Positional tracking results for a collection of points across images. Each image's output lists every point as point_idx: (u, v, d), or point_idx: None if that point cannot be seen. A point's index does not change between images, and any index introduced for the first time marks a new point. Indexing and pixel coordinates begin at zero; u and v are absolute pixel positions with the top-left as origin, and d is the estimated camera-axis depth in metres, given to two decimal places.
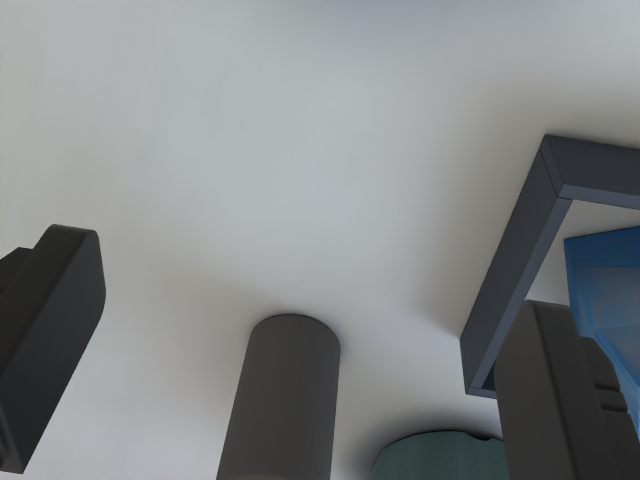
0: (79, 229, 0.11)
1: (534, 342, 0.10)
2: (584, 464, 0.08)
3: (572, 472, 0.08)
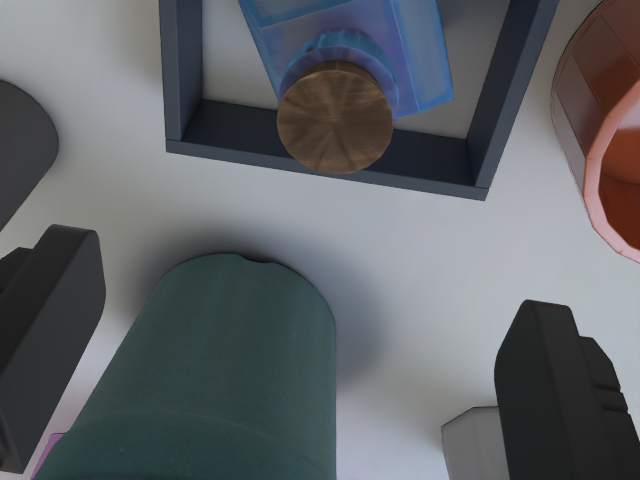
0: (79, 229, 0.11)
1: (534, 342, 0.10)
2: (584, 464, 0.08)
3: (572, 472, 0.08)
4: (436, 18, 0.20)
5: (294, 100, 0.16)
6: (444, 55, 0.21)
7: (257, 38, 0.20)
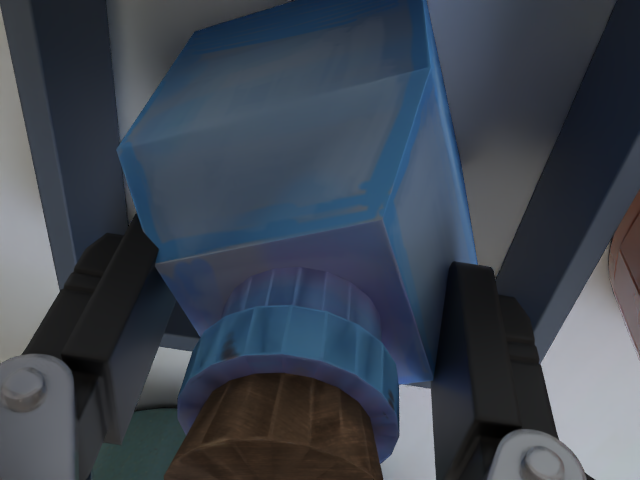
0: None
1: (455, 299, 0.11)
2: (485, 404, 0.09)
3: (473, 411, 0.09)
4: (461, 215, 0.12)
5: (193, 471, 0.08)
6: (472, 263, 0.13)
7: None
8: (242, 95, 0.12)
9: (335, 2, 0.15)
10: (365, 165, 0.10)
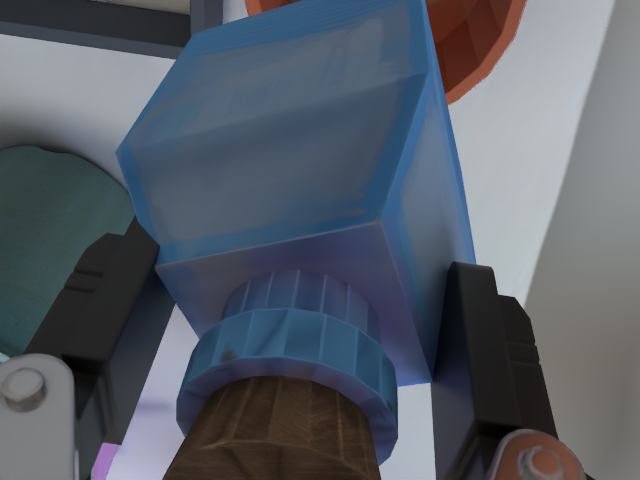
0: None
1: (456, 299, 0.11)
2: (485, 404, 0.09)
3: (473, 411, 0.09)
4: (460, 217, 0.12)
5: (192, 473, 0.08)
6: None
7: None
8: (241, 97, 0.12)
9: (334, 4, 0.15)
10: (364, 168, 0.10)
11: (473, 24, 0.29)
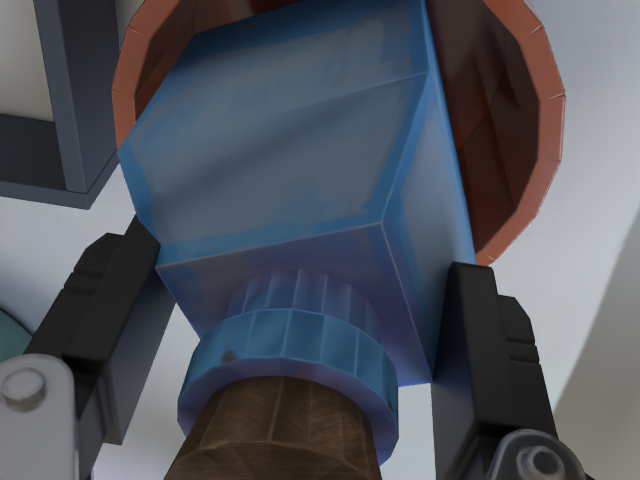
0: None
1: (456, 299, 0.11)
2: (485, 404, 0.09)
3: (473, 411, 0.09)
4: (460, 218, 0.12)
5: (193, 473, 0.08)
6: None
7: None
8: (242, 98, 0.12)
9: (335, 5, 0.15)
10: (364, 168, 0.10)
11: (472, 163, 0.20)
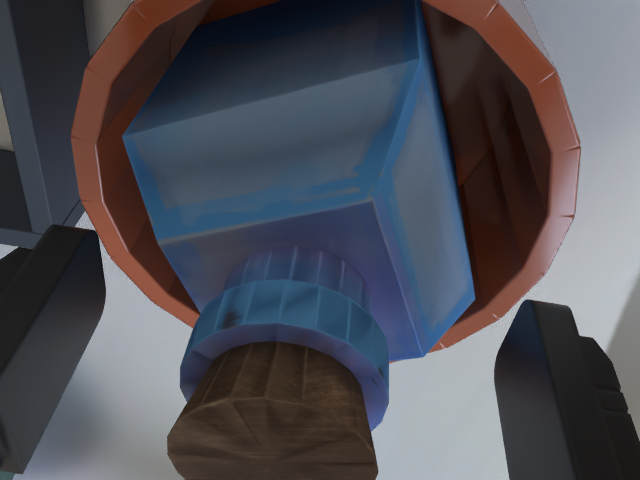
0: (79, 229, 0.11)
1: (534, 342, 0.10)
2: (584, 464, 0.08)
3: (572, 472, 0.08)
4: (450, 201, 0.13)
5: (195, 431, 0.09)
6: (461, 247, 0.14)
7: None
8: (242, 85, 0.13)
9: None
10: (358, 150, 0.10)
11: (474, 204, 0.18)
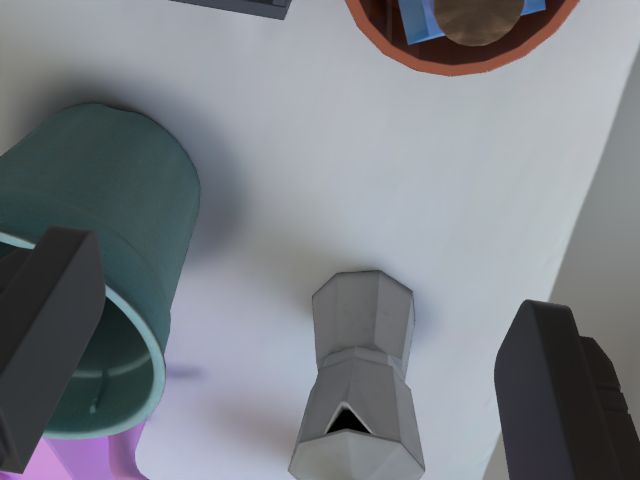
0: (79, 229, 0.11)
1: (534, 342, 0.10)
2: (584, 464, 0.08)
3: (572, 472, 0.08)
4: None
5: None
6: None
7: None
8: None
9: None
10: None
11: None
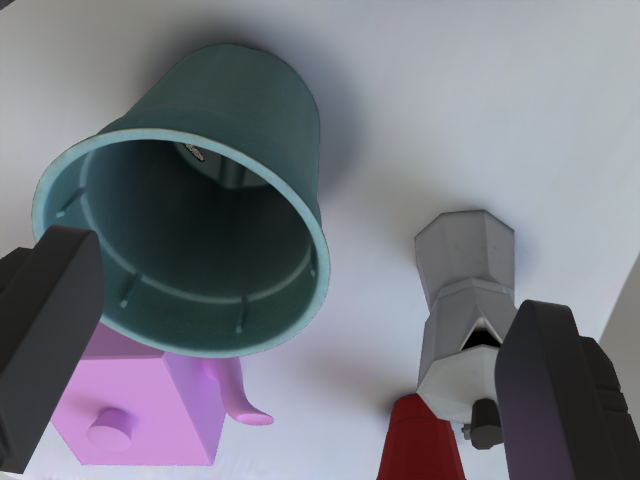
0: (79, 229, 0.11)
1: (534, 342, 0.10)
2: (584, 464, 0.08)
3: (572, 472, 0.08)
4: None
5: None
6: None
7: None
8: None
9: None
10: None
11: None
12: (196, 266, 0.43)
